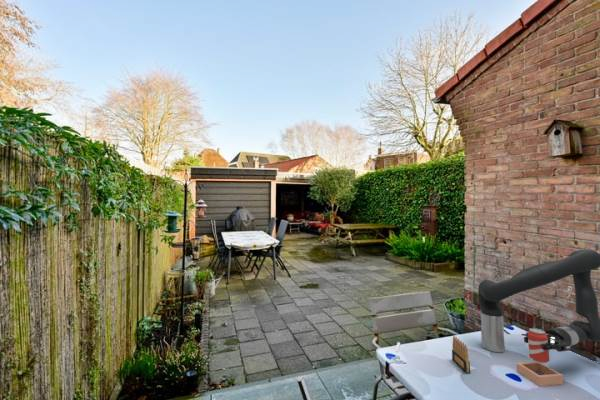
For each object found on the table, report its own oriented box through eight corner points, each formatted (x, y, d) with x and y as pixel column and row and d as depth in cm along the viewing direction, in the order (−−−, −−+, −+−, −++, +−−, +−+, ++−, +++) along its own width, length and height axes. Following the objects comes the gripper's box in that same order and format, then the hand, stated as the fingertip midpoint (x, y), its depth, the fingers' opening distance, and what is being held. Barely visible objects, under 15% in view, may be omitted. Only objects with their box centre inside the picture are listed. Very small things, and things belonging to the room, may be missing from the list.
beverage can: (530, 354, 120) (528, 326, 120) (550, 359, 115) (547, 330, 116) (528, 360, 116) (526, 330, 116) (548, 365, 111) (546, 335, 112)
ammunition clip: (470, 373, 119) (469, 345, 120) (466, 373, 119) (464, 345, 120) (456, 360, 130) (454, 334, 130) (452, 360, 130) (450, 334, 130)
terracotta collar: (540, 386, 110) (539, 377, 110) (516, 371, 120) (516, 363, 120) (563, 384, 111) (563, 375, 111) (538, 369, 121) (538, 361, 121)
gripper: (542, 322, 127) (515, 327, 122) (582, 335, 113) (553, 342, 108) (543, 338, 127) (516, 345, 122) (583, 353, 113) (554, 361, 108)
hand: (533, 343), depth 115 cm, fingers closed on beverage can, 6 cm apart
